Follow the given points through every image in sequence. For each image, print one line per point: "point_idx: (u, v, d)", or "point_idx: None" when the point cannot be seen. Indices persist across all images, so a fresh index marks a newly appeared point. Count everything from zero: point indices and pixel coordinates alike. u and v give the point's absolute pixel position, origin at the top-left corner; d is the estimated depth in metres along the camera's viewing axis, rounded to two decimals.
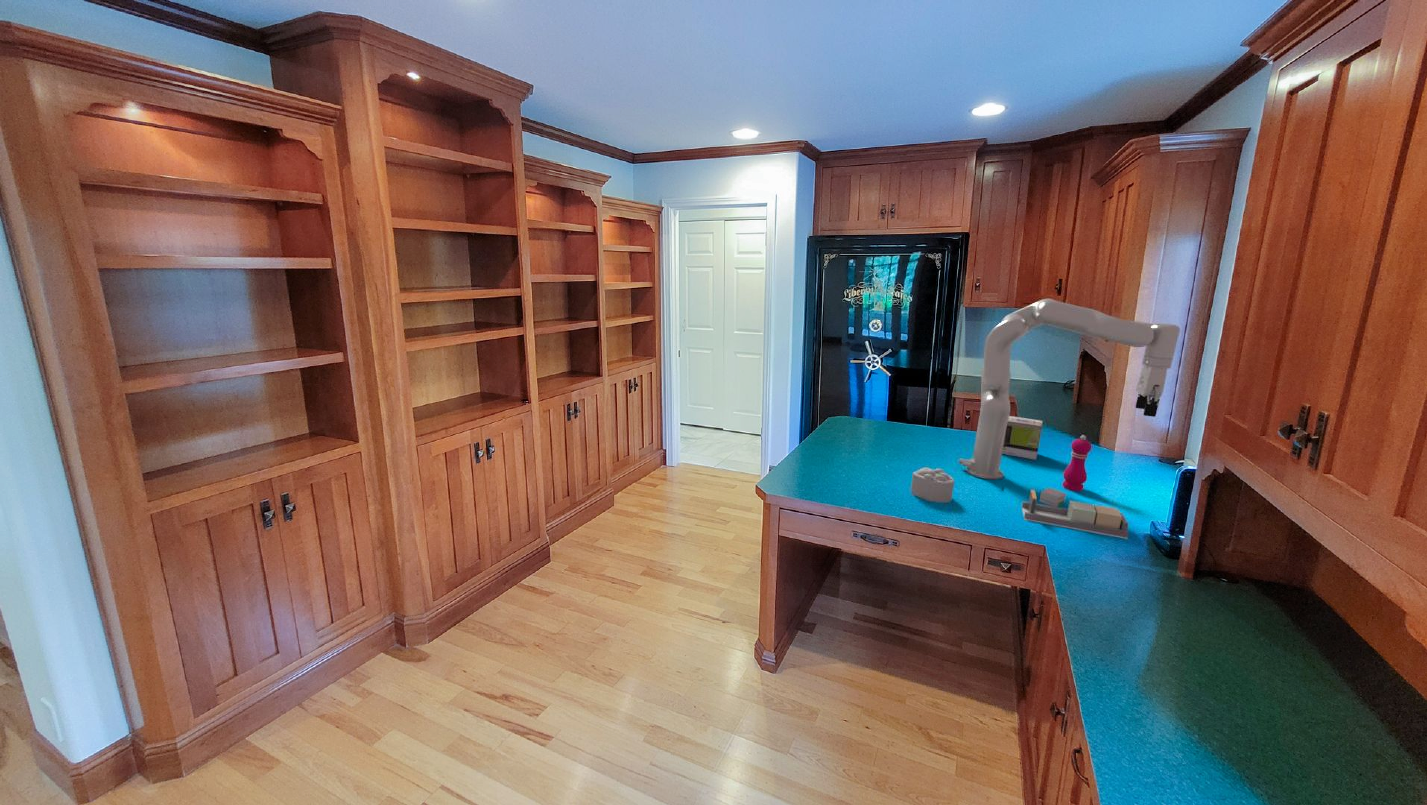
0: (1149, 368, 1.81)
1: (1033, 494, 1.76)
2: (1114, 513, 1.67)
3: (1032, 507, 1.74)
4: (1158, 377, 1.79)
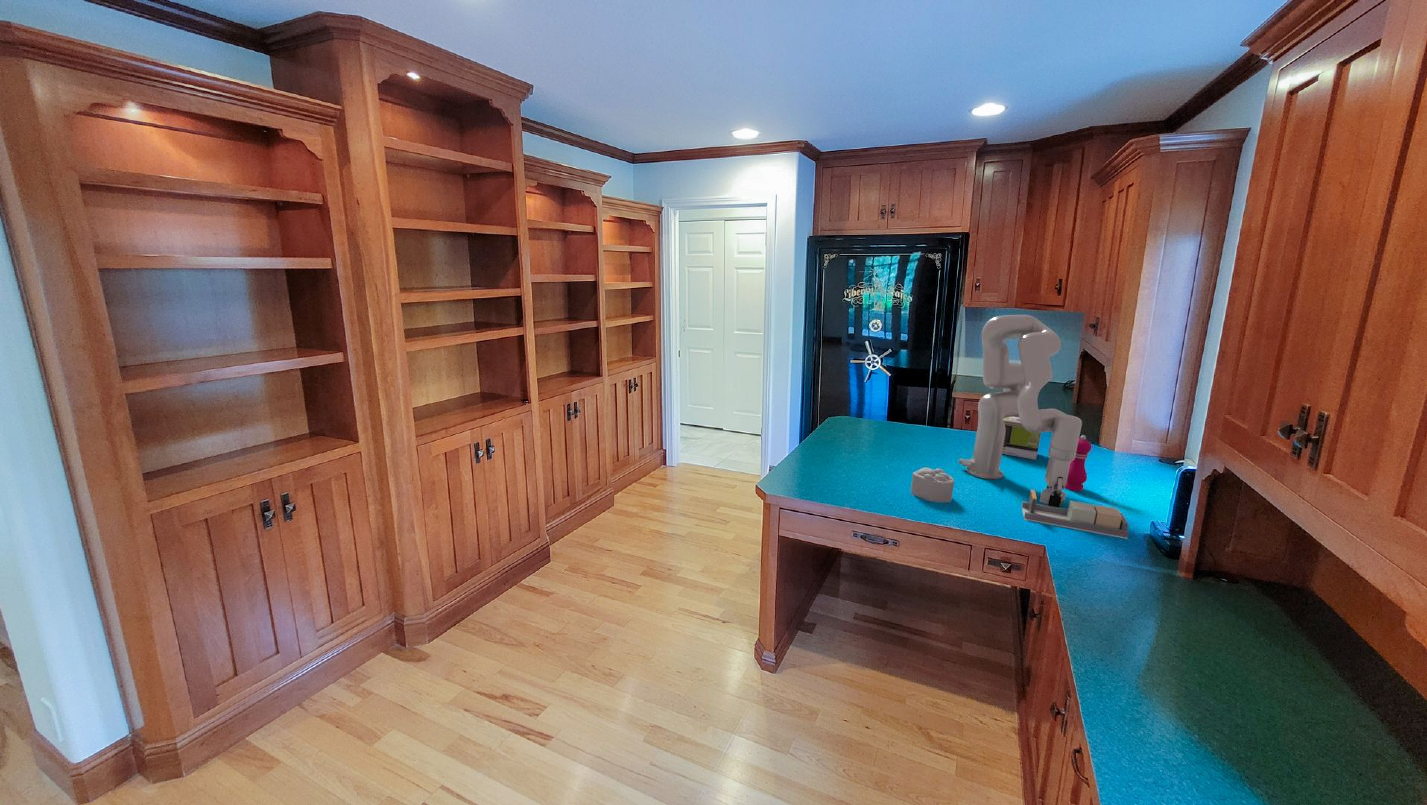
0: (1053, 459, 1.81)
1: (1033, 494, 1.76)
2: (1114, 513, 1.67)
3: (1032, 507, 1.74)
4: (1061, 469, 1.79)
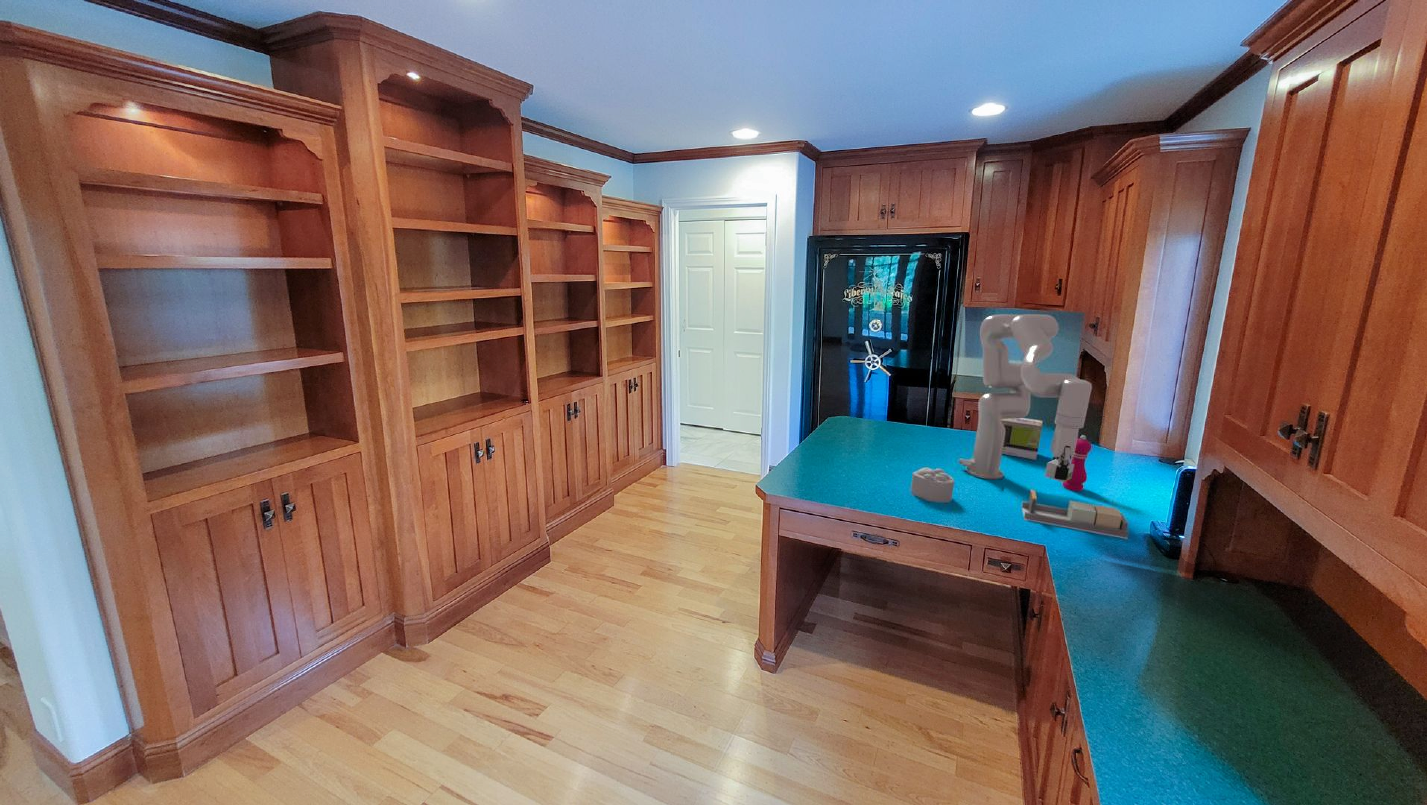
0: (1060, 427, 1.66)
1: (1033, 494, 1.76)
2: (1114, 513, 1.67)
3: (1032, 507, 1.74)
4: (1069, 437, 1.65)
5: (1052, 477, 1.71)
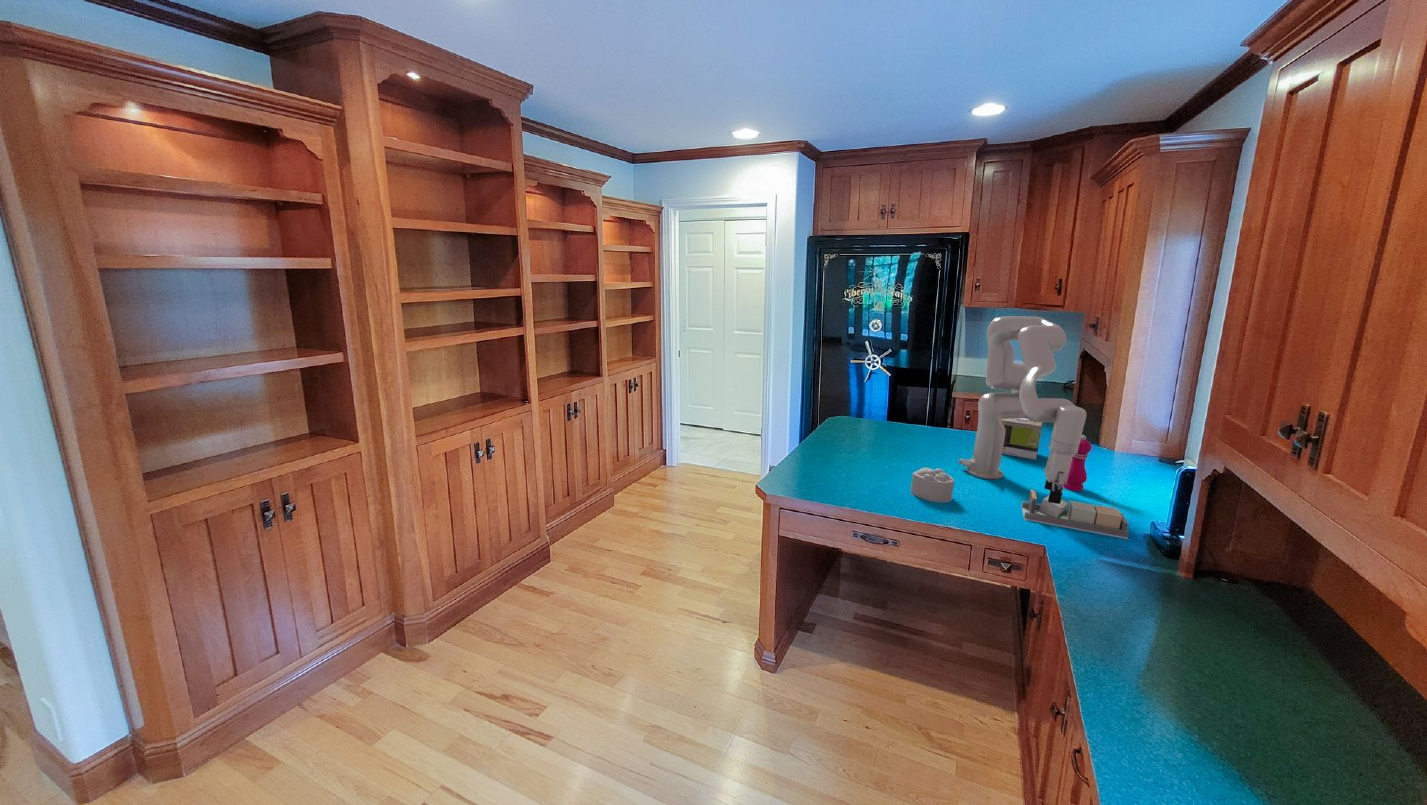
0: (1054, 453, 1.69)
1: (1033, 494, 1.76)
2: (1114, 513, 1.67)
3: (1032, 507, 1.74)
4: (1063, 464, 1.67)
5: (1045, 513, 1.74)
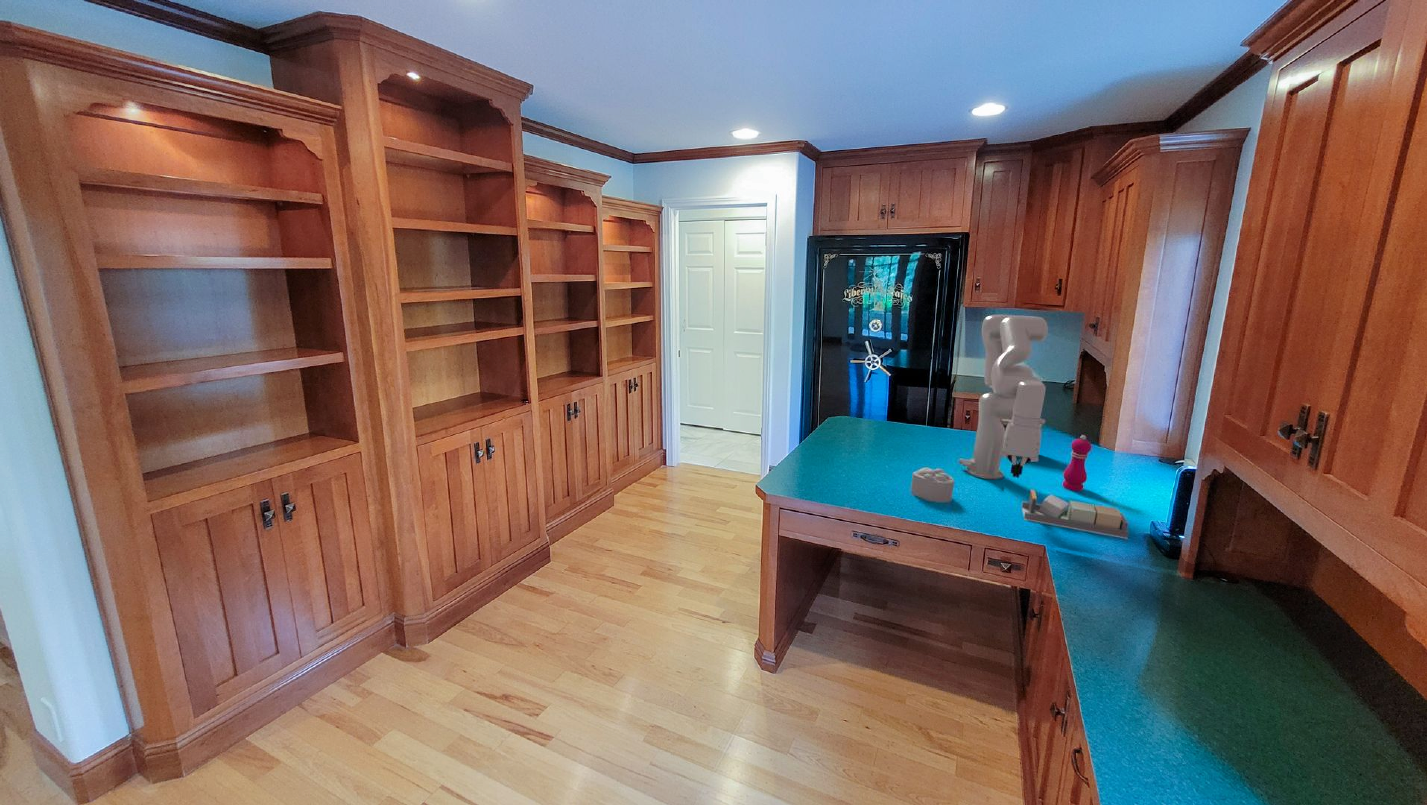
0: None
1: (1033, 494, 1.76)
2: (1114, 513, 1.67)
3: (1032, 507, 1.74)
4: (1006, 431, 1.75)
5: (1045, 514, 1.74)
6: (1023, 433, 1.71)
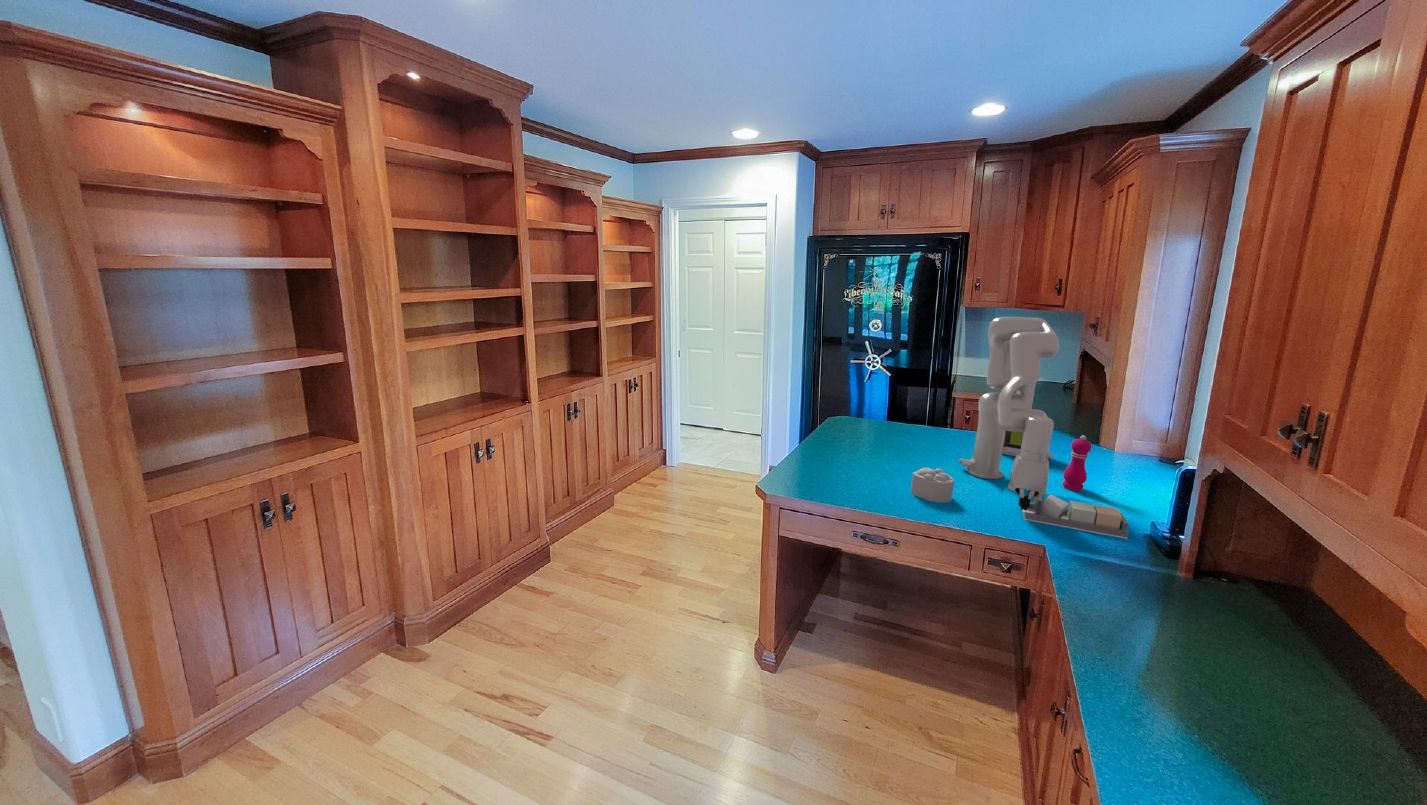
0: None
1: (1038, 495, 1.76)
2: (1114, 513, 1.67)
3: (1037, 508, 1.74)
4: (1014, 465, 1.77)
5: (1045, 514, 1.74)
6: (1031, 467, 1.73)
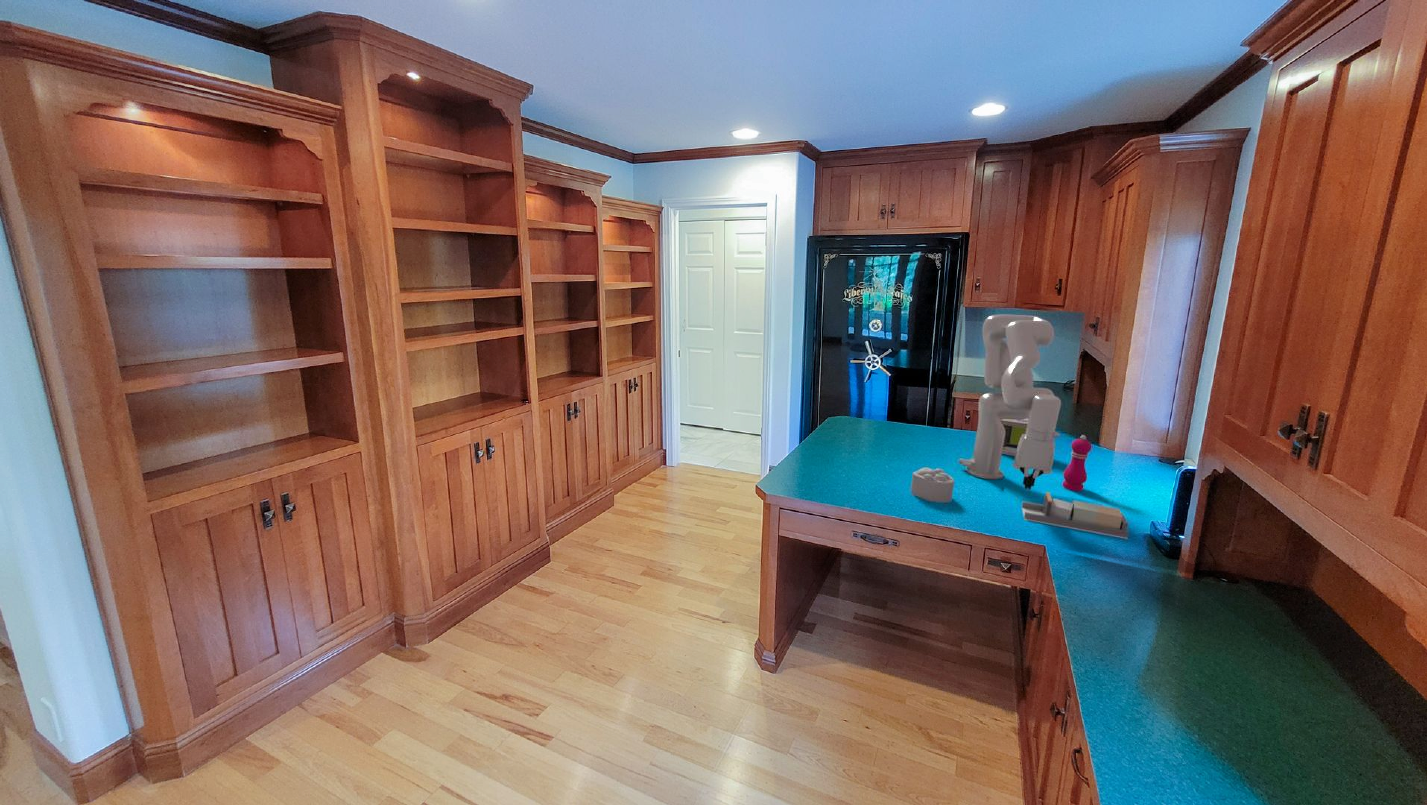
0: None
1: (1048, 497, 1.74)
2: (1115, 513, 1.67)
3: (1047, 510, 1.73)
4: (1019, 444, 1.75)
5: None
6: (1037, 447, 1.71)
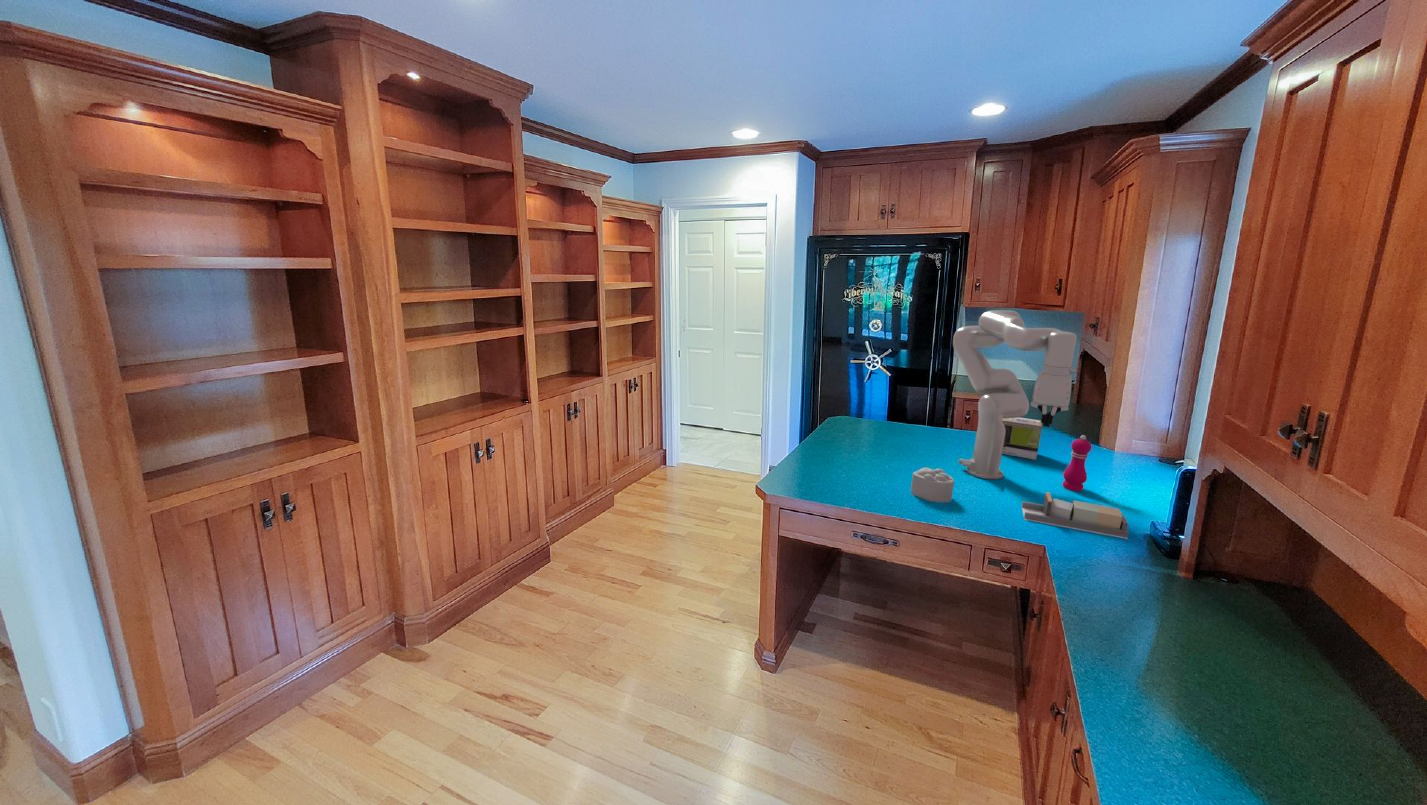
0: None
1: (1048, 497, 1.74)
2: (1115, 513, 1.67)
3: (1047, 510, 1.73)
4: (1037, 382, 1.80)
5: None
6: (1054, 382, 1.76)
